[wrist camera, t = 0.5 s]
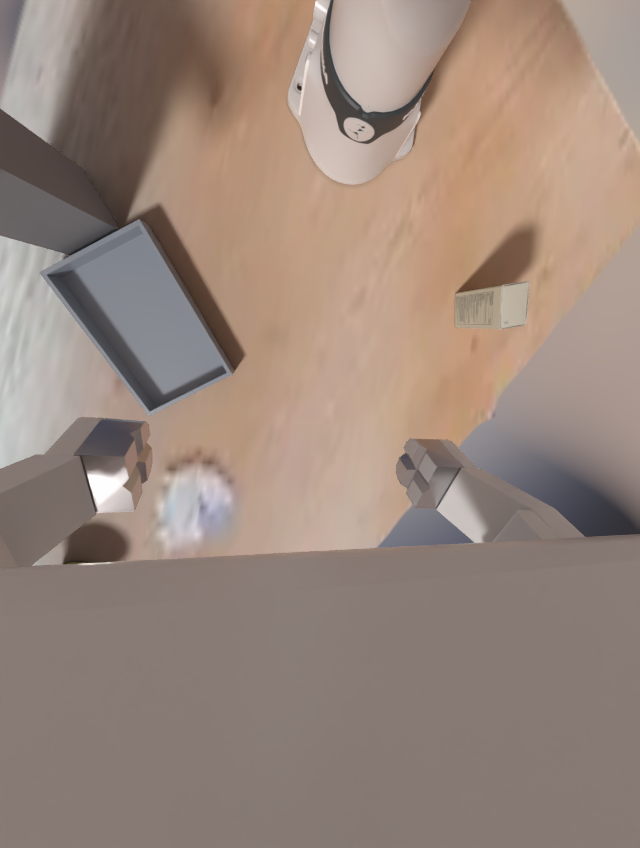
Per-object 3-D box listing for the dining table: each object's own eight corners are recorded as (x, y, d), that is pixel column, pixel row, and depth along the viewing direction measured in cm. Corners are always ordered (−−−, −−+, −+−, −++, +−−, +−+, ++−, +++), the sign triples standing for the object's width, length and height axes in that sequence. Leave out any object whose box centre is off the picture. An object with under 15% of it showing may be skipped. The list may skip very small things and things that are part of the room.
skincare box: (475, 324, 55) (526, 327, 44) (454, 328, 55) (499, 332, 43) (477, 287, 53) (531, 280, 41) (454, 291, 52) (502, 284, 41)
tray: (234, 370, 52) (232, 374, 49) (156, 409, 53) (148, 416, 50) (149, 226, 43) (139, 219, 40) (57, 275, 44) (39, 272, 41)
